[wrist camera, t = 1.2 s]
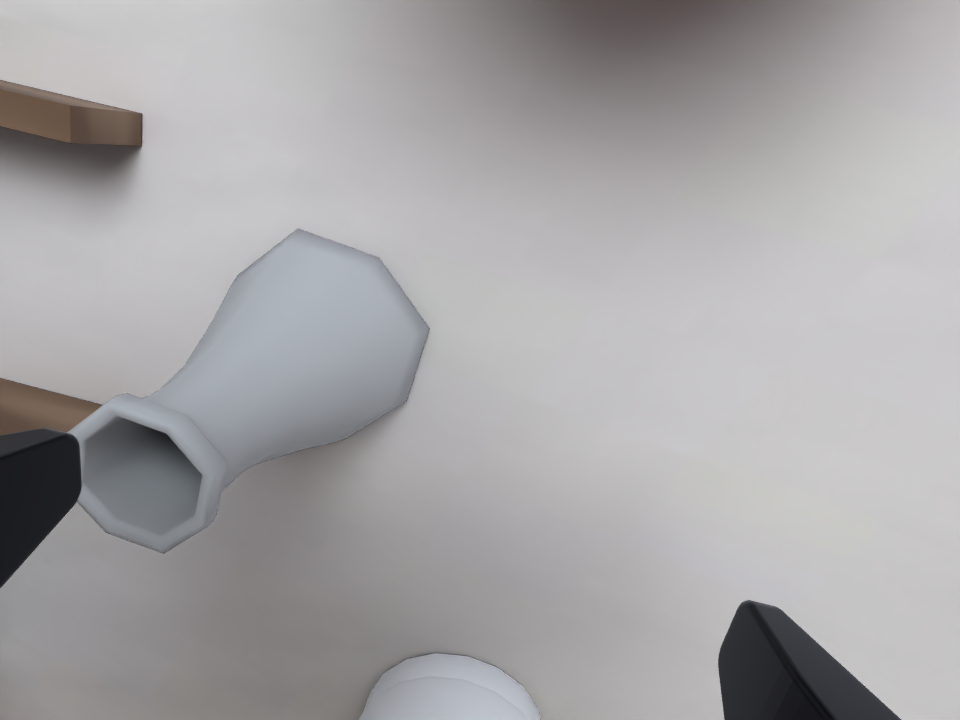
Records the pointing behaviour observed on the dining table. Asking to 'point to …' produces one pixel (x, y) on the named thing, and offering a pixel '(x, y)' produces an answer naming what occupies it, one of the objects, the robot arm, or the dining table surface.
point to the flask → (253, 389)
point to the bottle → (448, 692)
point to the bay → (72, 122)
